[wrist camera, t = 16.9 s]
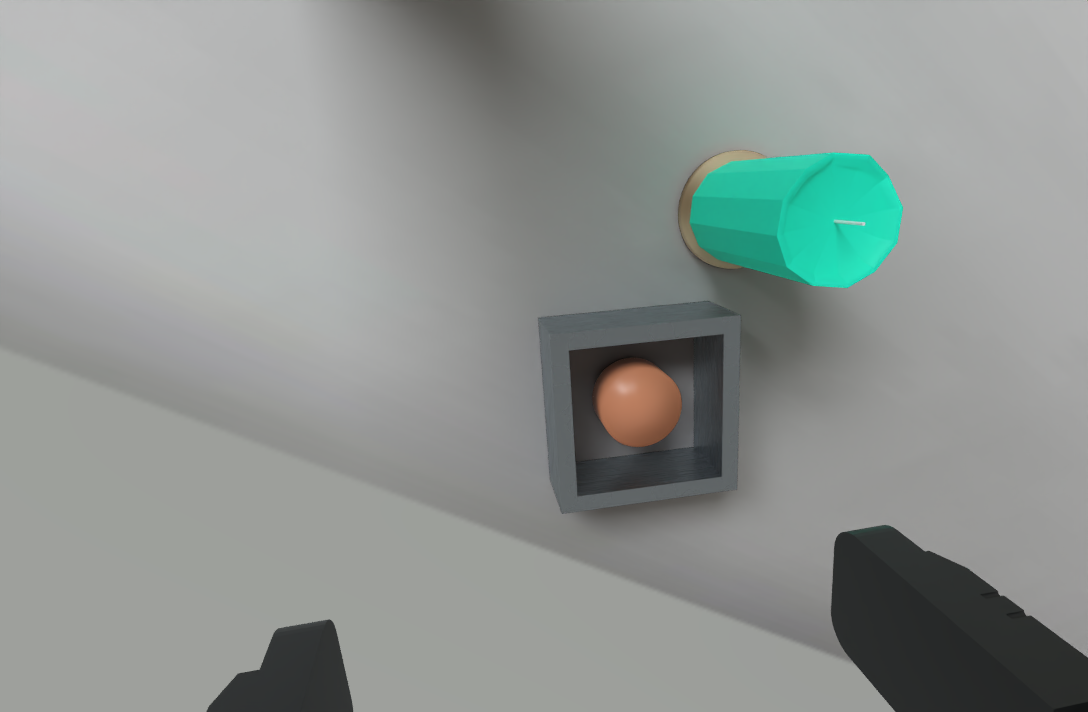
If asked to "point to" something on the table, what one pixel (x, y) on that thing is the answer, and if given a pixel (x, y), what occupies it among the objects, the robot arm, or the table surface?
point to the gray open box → (656, 471)
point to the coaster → (686, 202)
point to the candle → (800, 216)
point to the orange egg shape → (636, 402)
